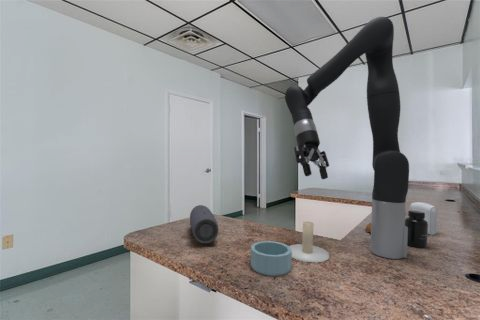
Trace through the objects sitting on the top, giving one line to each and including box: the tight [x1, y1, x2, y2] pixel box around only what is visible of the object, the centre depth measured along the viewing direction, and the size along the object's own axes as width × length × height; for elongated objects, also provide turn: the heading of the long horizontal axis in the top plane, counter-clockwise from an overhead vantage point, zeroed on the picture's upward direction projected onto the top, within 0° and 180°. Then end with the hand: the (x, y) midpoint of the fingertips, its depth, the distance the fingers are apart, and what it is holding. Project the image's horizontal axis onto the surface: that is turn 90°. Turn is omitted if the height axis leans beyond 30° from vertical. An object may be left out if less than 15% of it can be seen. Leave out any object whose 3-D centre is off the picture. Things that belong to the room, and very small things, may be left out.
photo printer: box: [409, 201, 438, 236], centre depth 105 cm, size 10×4×12 cm, turn 13°
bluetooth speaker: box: [189, 204, 219, 244], centre depth 91 cm, size 23×9×10 cm, turn 14°
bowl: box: [250, 240, 293, 277], centre depth 68 cm, size 11×11×5 cm
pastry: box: [365, 222, 371, 234], centre depth 103 cm, size 9×7×4 cm
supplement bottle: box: [405, 209, 429, 249], centre depth 88 cm, size 7×7×12 cm
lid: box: [288, 221, 330, 264], centre depth 77 cm, size 13×13×10 cm
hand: (316, 177), depth 81 cm, fingers open, 8 cm apart
